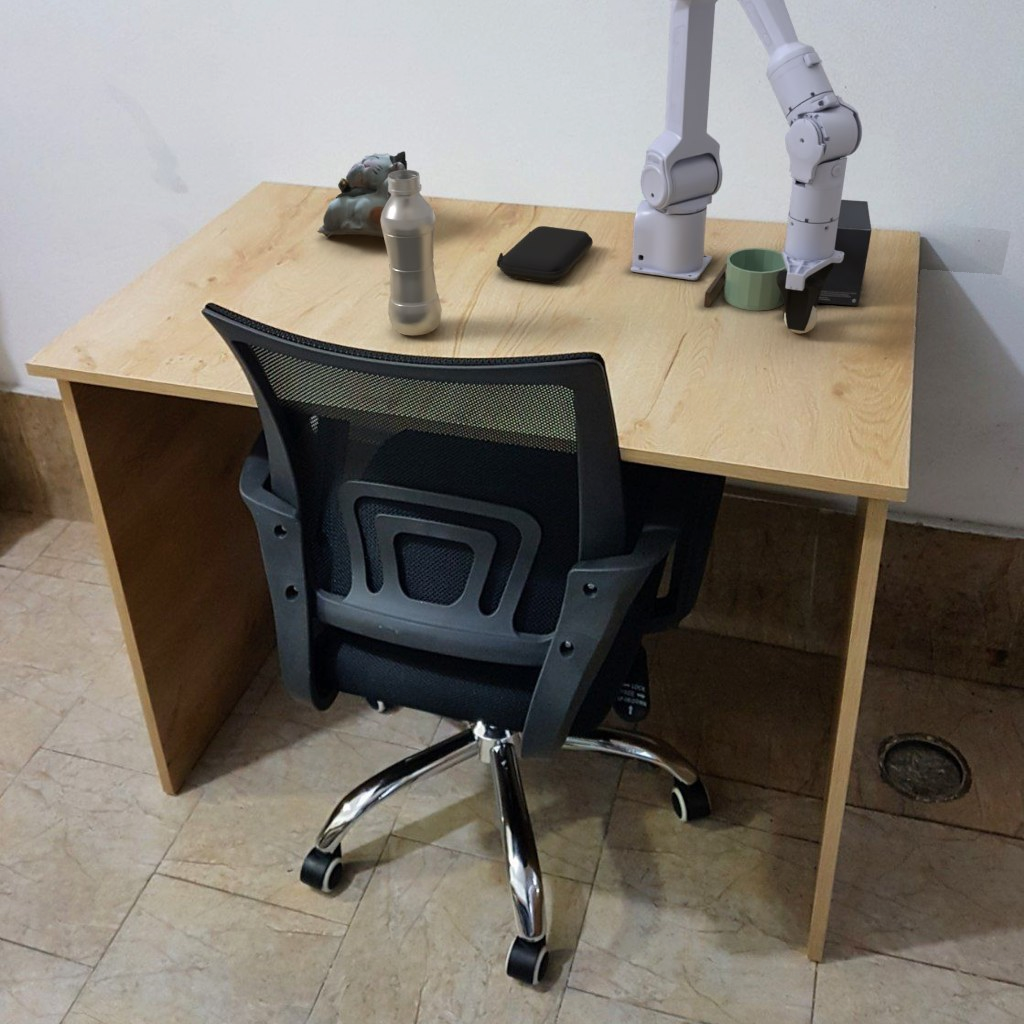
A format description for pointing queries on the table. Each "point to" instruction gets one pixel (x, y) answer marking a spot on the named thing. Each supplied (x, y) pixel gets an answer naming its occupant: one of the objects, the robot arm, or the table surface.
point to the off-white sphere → (810, 324)
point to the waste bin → (753, 279)
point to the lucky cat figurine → (362, 196)
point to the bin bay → (717, 288)
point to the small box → (849, 255)
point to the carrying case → (545, 254)
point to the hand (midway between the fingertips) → (800, 321)
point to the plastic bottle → (410, 256)
